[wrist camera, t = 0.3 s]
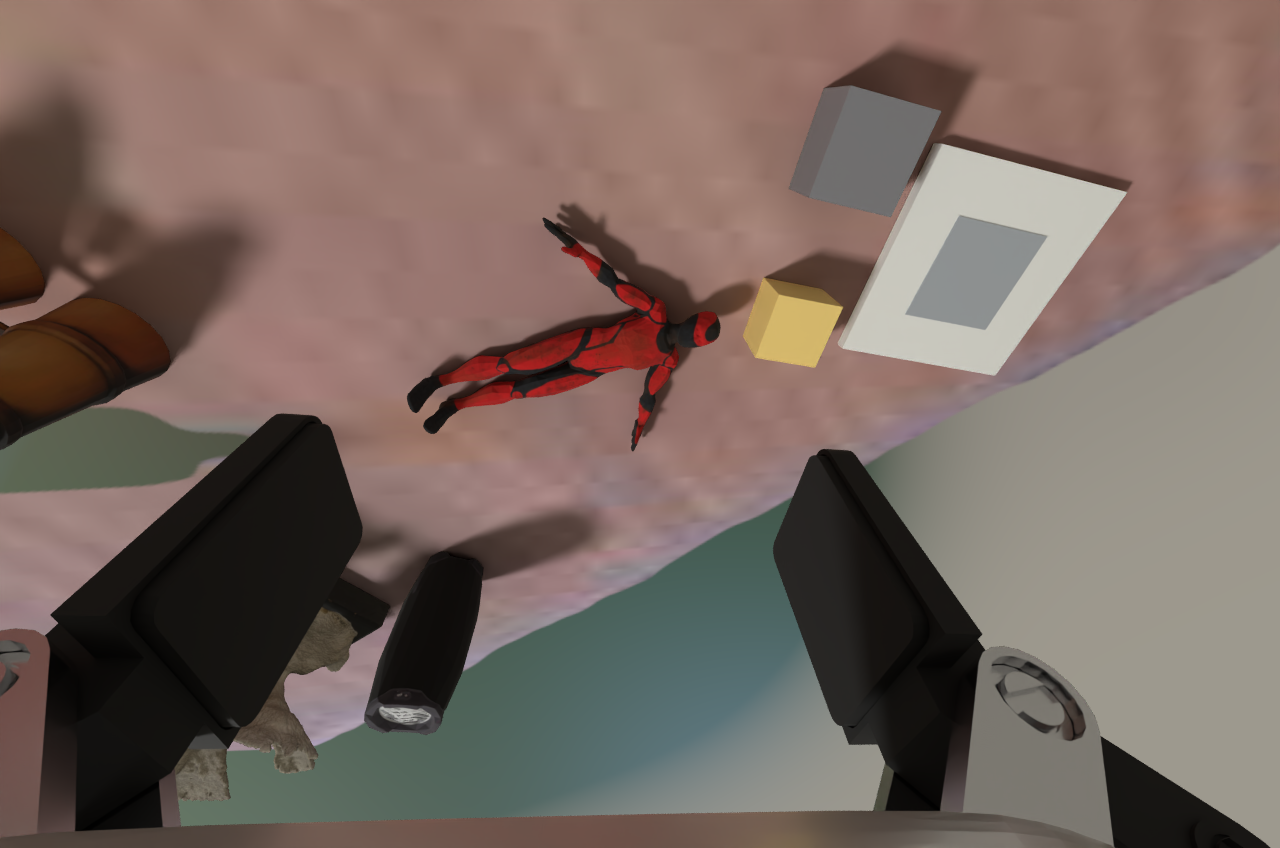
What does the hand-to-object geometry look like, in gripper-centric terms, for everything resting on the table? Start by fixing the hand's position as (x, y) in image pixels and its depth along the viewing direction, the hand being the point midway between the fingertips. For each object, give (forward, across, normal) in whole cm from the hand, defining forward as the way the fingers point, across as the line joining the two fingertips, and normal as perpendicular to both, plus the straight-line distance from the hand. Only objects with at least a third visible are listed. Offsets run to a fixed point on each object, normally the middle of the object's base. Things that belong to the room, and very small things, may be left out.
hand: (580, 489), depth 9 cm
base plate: (+35, -34, +2) cm, 49 cm away
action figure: (+36, +3, +14) cm, 39 cm away
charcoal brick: (+36, -19, -6) cm, 41 cm away
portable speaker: (+36, +18, +49) cm, 63 cm away
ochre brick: (+36, -18, +8) cm, 41 cm away
